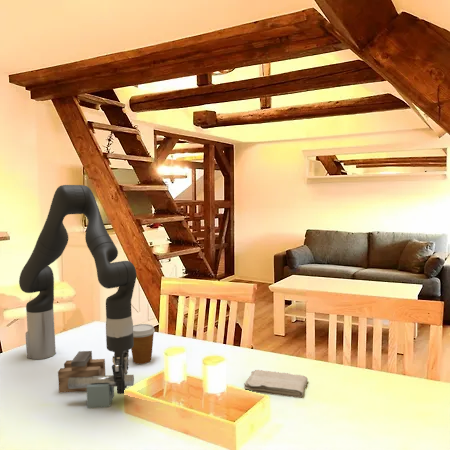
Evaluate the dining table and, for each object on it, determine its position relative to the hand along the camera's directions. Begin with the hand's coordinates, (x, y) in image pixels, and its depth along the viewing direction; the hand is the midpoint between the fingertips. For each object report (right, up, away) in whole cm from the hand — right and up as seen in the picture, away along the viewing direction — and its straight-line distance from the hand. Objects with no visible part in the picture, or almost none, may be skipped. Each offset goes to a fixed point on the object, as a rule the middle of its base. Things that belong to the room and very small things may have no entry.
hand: (122, 390), depth 128 cm
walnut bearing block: (-15, -2, +11) cm, 18 cm away
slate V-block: (-6, -3, 0) cm, 7 cm away
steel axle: (-6, +1, 0) cm, 6 cm away
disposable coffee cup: (0, -1, +30) cm, 30 cm away
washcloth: (+45, -2, +7) cm, 46 cm away
